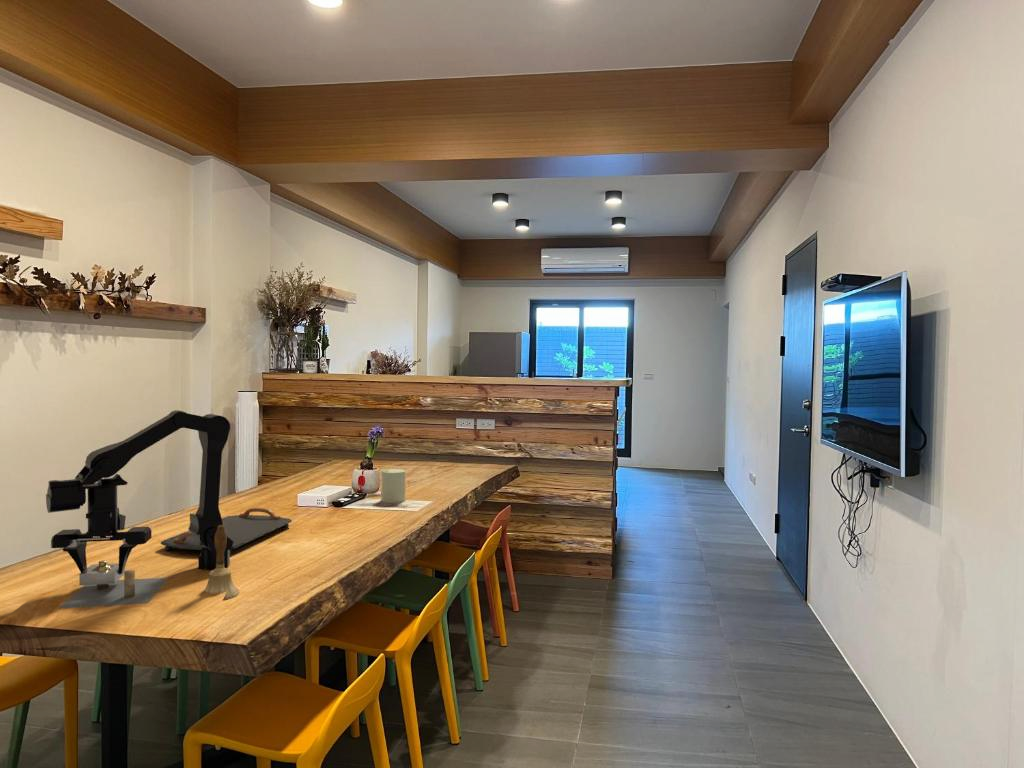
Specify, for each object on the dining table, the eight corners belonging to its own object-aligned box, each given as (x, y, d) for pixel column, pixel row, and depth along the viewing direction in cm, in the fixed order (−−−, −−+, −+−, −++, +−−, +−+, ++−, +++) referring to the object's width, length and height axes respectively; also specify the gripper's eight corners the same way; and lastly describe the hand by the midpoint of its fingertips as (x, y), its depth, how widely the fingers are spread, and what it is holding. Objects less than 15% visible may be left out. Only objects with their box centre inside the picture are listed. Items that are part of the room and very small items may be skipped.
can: (379, 498, 259) (380, 467, 259) (403, 497, 262) (403, 467, 261) (382, 503, 250) (382, 471, 250) (407, 502, 253) (407, 471, 253)
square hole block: (125, 573, 155) (125, 562, 155) (114, 583, 148) (114, 572, 148) (91, 575, 153) (91, 564, 153) (79, 585, 147) (79, 574, 147)
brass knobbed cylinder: (110, 585, 152) (110, 559, 152) (106, 589, 150) (106, 562, 150) (98, 586, 152) (98, 560, 152) (95, 589, 149) (94, 563, 149)
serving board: (226, 561, 178) (226, 538, 178) (150, 555, 183) (150, 532, 182) (298, 526, 216) (298, 507, 216) (234, 521, 221) (234, 503, 220)
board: (169, 583, 159) (169, 577, 159) (147, 609, 142) (147, 602, 142) (89, 588, 155) (89, 581, 155) (57, 615, 138) (57, 608, 138)
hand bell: (244, 588, 156) (245, 521, 156) (231, 601, 148) (231, 530, 148) (208, 588, 156) (209, 520, 156) (193, 601, 148) (193, 530, 147)
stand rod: (136, 594, 147) (136, 569, 147) (133, 597, 145) (133, 572, 145) (126, 595, 147) (125, 570, 146) (123, 598, 145) (122, 573, 144)
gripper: (158, 497, 160) (158, 561, 161) (70, 500, 156) (71, 566, 156) (144, 507, 149) (144, 576, 150) (49, 510, 145) (50, 581, 146)
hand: (103, 574), depth 151 cm, fingers closed on square hole block, 7 cm apart
